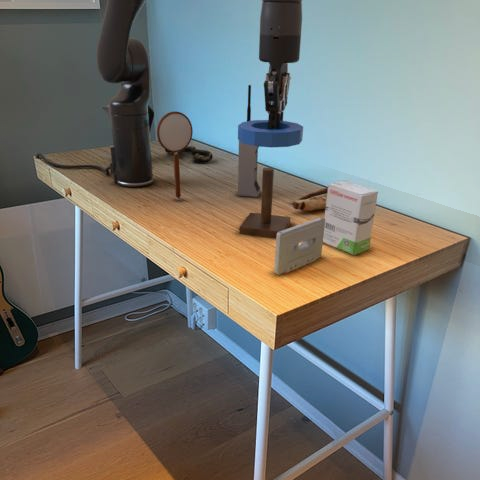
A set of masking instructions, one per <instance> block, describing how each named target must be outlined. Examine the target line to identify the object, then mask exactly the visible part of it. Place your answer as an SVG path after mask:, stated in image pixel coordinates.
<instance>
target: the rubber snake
mask: <svg viewBox="0 0 480 480" xmlns="http://www.w3.org/2000/svg"><path fill="white" fill-rule="evenodd" d="M164 151H165V153H167V154H170V153H172V152H170V151H167V150H166V149H164ZM180 152H181V153H191V154H192V159H193V162H195V163H197V164H206V163H209V162H211V161H212V160H213V157H214V156H213V154H212V152H211V151H209V150H208V149H207V150H206V149H200V148H199V149H198V148H196V147H195V146H193V145H191V146H190V145H188V146H187V147H186V148H185V149H183V150H182V151H179V152H178V153H180Z"/></svg>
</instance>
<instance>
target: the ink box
mask: <svg viewBox="0 0 480 480" xmlns="http://www.w3.org/2000/svg"><path fill="white" fill-rule="evenodd" d="M327 188H328V192H327V194H326V195H327V201H326V208H325V209H324V218H325V228H324V236H323V244H327V245H329V246H331V247H334V248H336V249H338V250H341V251H343V252H345V253H347V254H350V255H352V256H356V255H358V254H360V253H363V252H365V251H368V250H370V246H371V238H372V233H373V226H374V220H375V215H376V214H375V213H376V207H377V200H378V196H379V195H378V194H379V191H378V190H376V189H373V188H370V187H366V186H362V185H360V184H357V183H354V182H350V181H347V180H341V181H335V182H331V183H328V184H327Z"/></svg>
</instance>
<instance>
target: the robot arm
mask: <svg viewBox="0 0 480 480" xmlns="http://www.w3.org/2000/svg"><path fill="white" fill-rule="evenodd" d="M146 2H147V0H107V1H106V6H105V12H104V15H103V20H102V24H101V28H100V33H99V37H98V41H97V45H96V53H95V54H96V55H95V60H96V67H97V71H98V74H99V76H100V77H101V78H102V79H103V80H104V82H106V83H109V84H120V86H119V89H118V91H117V92H116V94H115V95H114V96H113V97H112V98H111V99H110V100H109V102H108V105H109V110H110V117H109V119H110V126H111V135H112V144H111V145H110V146H109V149H110V157H111V162H109V166H106V168H104V167H102V166H100V165H97V164H75V165H74V164H73V165H72V164H71V165H69V164H67V165H66V164H59V163H56V162H54V161H51V160H49V159H47V158H46V157H45V156H44V155H43V154H42V153H37V154H36V156H35V158H36V159H38V158H39V159H40V158H41V159H42V160H43V161H44V162H45V163H48V164H49V165H52V166H55V167H57V168H62V169H63V168H64V169H80V168H82V169H83V168H93V169H99V170H100V171H101V172H103V173H104V174H105V175H106V176H109V175H110V174H111V175H113V183H114V184H115V185H116V184H117V185H118V186H121V187H127V188H141V187H147V186H149V185H152V184H154V173H153V161H152V148H151V135H150V133H151V132H150V133H149V120H148V106H149V103H150V100H151V81H150V80H151V79H150V73H151V72H150V59H149V55H148V51H147V49H146V46H145V44H144V43H143V42H142V41H141V40H140V39H138V38H136V37H131V32H132V29H133V26H134V22H135V20H136V19H137V16H138V14H139V13H140V11H141V9H142V8H143V6H144V5H145V4H146ZM302 26H303V0H261V11H260V18H259V43H258V46H259V47H258V59H259V61H260V62H263V63H268V64H269V65H268V72H267V73H266V74H265V80H264V82H263V91H264V108H265V112H267V114H268V117H267V120H268V130H280V121H284V111H285V110H286V107H287V105H288V97H289V91H290V83H291V78H292V77H291V72H289V71H288V68H289V67H288V66H289V65H288V64H294V63H298V62H299V61H300V54H301V41H302ZM109 170H110V171H109Z"/></svg>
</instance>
